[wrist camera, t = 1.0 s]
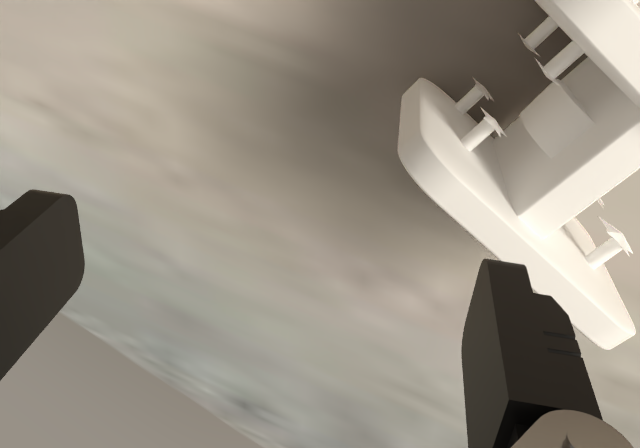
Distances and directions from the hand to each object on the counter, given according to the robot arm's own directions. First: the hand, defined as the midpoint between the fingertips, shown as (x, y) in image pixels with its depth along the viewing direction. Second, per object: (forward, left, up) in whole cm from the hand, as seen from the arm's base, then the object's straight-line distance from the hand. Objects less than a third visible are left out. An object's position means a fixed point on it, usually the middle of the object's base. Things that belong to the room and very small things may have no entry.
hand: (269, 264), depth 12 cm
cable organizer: (-3, +11, -25) cm, 27 cm away
